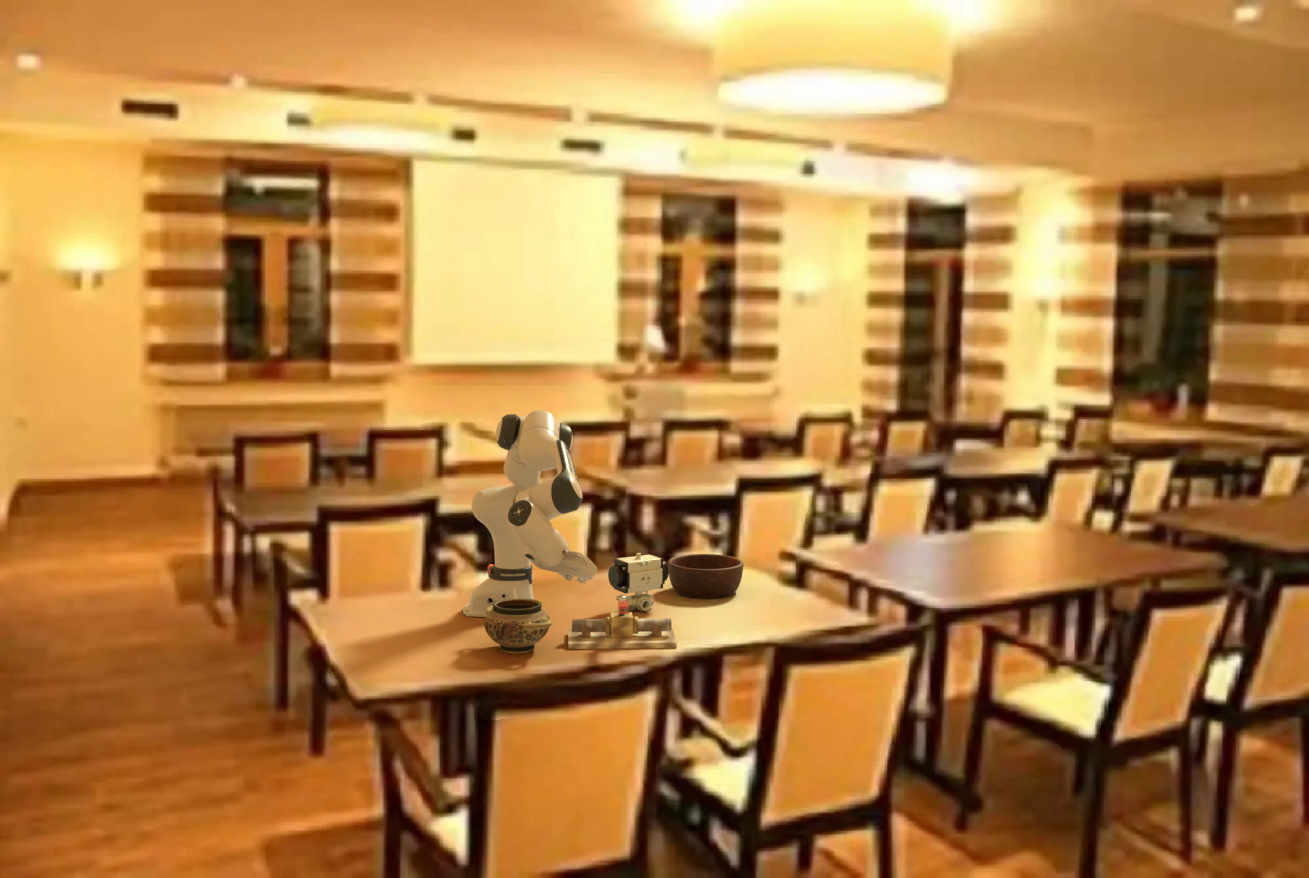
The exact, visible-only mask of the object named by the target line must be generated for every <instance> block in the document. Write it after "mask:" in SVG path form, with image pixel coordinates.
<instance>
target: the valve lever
mask: <svg viewBox="0 0 1309 878" xmlns="http://www.w3.org/2000/svg"><path fill="white" fill-rule="evenodd" d="M627 596H628V595H626V594H619V595H616V596H615V597H616V600H615V601H617V603H618V604H617V606H618V607H617V608H618V609H617V610H618V612H619V614H629V612H630V611H629V605H628V601H626V600H627Z"/></svg>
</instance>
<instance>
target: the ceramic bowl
mask: <svg viewBox="0 0 1309 878" xmlns="http://www.w3.org/2000/svg"><path fill="white" fill-rule="evenodd" d="M542 604H543V603H542V602H541V601H539V600H537V599H534V600H533V599H507V600H501V601H497V602H495V603H493V606H490V607H488V608H487V609H486V614H487V615H486V617H484V623H483V624H484V625H483V627H484V629H485V632H486V634H487V636H488V637H489V638H490V639H491V640H492V641H493V642H494V643H496V644H497V645H500V646H499V649H500V651H501V652H504V653H507V654H525V653H530V652H532V651H533V650H535V649H536V648H535V644H537V643H538V642H540V641H541V640H542V639H543V638H544V637H545V636H546V635H547V633H548V632H549V629H550V627H551V626H553V623H552V621H551V619H550V616H549V614H548V613H547V611H545V610H544V609H543V608H542Z"/></svg>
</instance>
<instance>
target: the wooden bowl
mask: <svg viewBox="0 0 1309 878" xmlns="http://www.w3.org/2000/svg"><path fill="white" fill-rule="evenodd" d="M667 566H668V570H669V575H668V578H669V581H670V585H671V587H672V589H673V590H674V592H675V593H677V594H679V595H681V596H684V597H687V596H688V598H696V599H718V598H726V597H730V596H732V595H734V594H735V593H736V592H737V590H738V589H739V587H740V585H741V582H742V577H743V572H744V562H743V560H741V559H739V558H737V557H734V556H729V555H723V554H713V553H692V554H683V555H682V554H681V555H677V556H674V557H673V556H672V557H671V558H669V559H668V560H667Z"/></svg>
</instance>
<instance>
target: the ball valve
mask: <svg viewBox="0 0 1309 878" xmlns="http://www.w3.org/2000/svg"><path fill="white" fill-rule="evenodd" d="M607 574H608V575H607V577H608V578H607V579H608V582H609V584H610V586H611V587H612V588H613V590H616V591H618V592H621V593H622V594H624V595H626V594H632V593H634V594H632V595H626V596H627V600H626V601H628V605H629V610H630V611H629V612H631V611H632V612H633V611H637V610H638V611H639V612H642V611H644V612H646V611H650V609H651V607H654V603H655V598H654V596H653V595H652V594H649V591H655V590H661V589H664V585H665V584H666V583H665V582H666V581H667V580H668V578H669V570H668V563H667V562H666V561H665V559H664V557H660V556H657V555H654V554H652V553H651V554H644V555H642V553H641V552H637V553H636V555H635V556H627V557H626V556H625V557H617V558H613V563H612V565H611V566H610V567H609V569H608V573H607ZM644 592H645V593H644Z"/></svg>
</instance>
